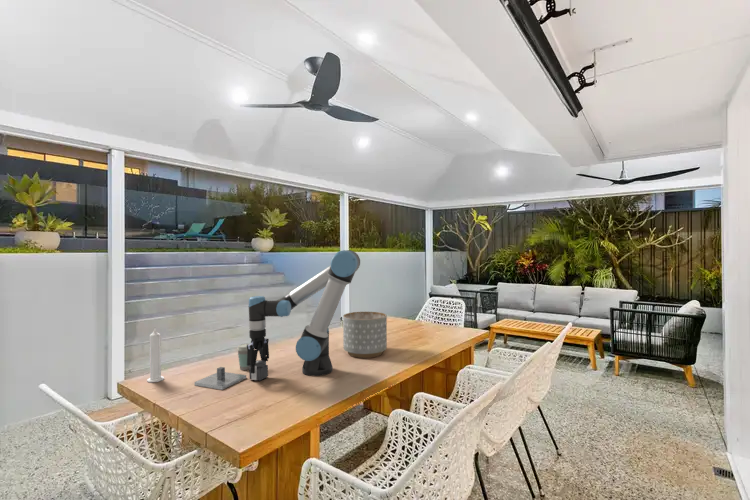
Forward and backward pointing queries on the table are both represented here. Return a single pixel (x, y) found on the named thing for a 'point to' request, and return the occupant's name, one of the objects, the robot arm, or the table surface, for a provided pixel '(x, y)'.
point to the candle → (155, 357)
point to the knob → (260, 370)
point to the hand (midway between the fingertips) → (258, 377)
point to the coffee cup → (243, 356)
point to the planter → (365, 334)
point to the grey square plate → (220, 379)
